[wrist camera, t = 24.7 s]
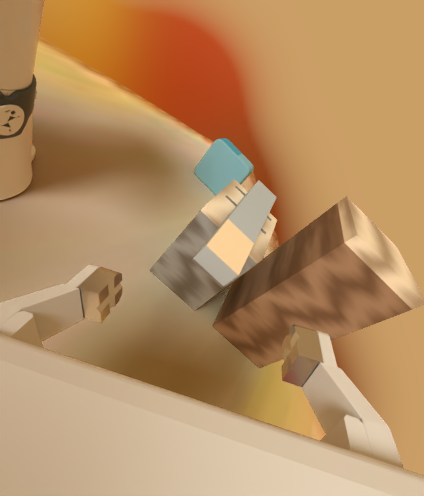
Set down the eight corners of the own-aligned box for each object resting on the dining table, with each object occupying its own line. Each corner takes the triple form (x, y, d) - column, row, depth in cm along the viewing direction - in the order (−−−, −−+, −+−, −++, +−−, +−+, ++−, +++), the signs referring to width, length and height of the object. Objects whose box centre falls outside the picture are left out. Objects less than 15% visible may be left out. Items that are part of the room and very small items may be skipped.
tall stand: (212, 326, 41) (357, 234, 26) (234, 280, 51) (346, 196, 36) (259, 368, 42) (426, 303, 26) (271, 315, 52) (396, 246, 37)
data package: (228, 198, 72) (256, 167, 65) (222, 202, 68) (251, 170, 61) (199, 169, 72) (224, 135, 64) (192, 171, 68) (217, 136, 61)
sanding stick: (191, 260, 23) (206, 244, 22) (248, 190, 41) (259, 179, 39) (221, 287, 24) (239, 274, 22) (265, 207, 41) (277, 197, 40)
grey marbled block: (149, 270, 40) (205, 204, 30) (185, 235, 50) (234, 178, 41) (194, 310, 41) (263, 259, 31) (220, 267, 51) (277, 219, 41)
